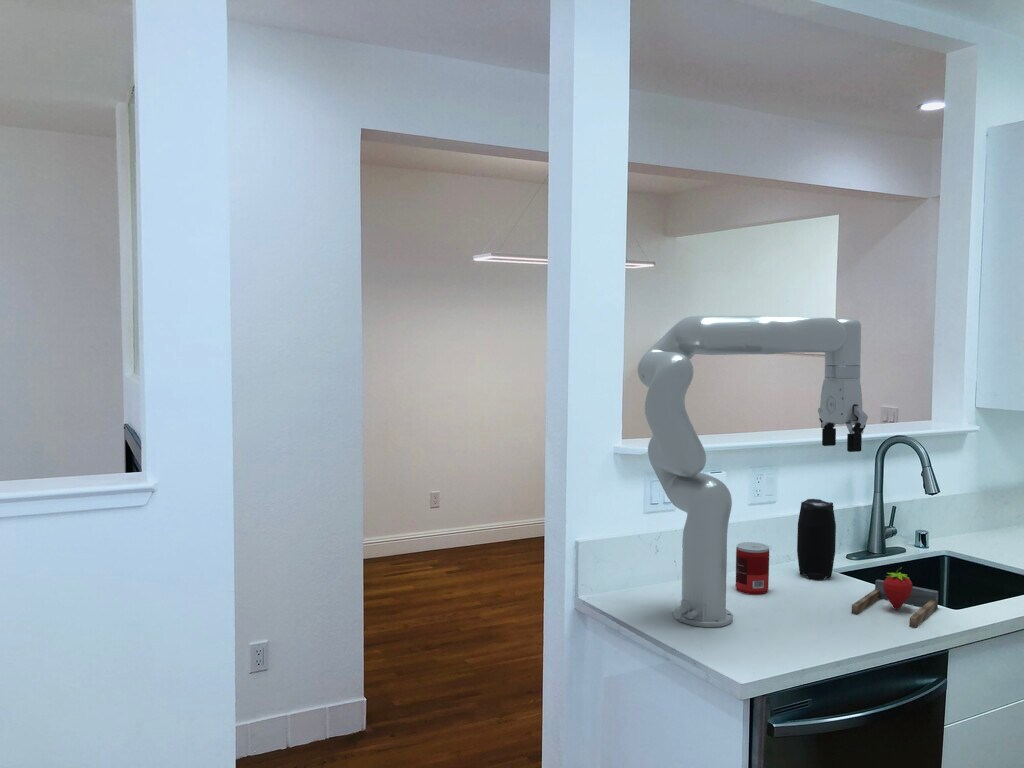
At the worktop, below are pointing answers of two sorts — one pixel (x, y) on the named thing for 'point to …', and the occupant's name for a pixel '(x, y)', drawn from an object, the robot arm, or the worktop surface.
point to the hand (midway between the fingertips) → (841, 448)
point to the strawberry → (897, 588)
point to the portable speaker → (816, 539)
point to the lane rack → (917, 598)
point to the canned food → (752, 568)
